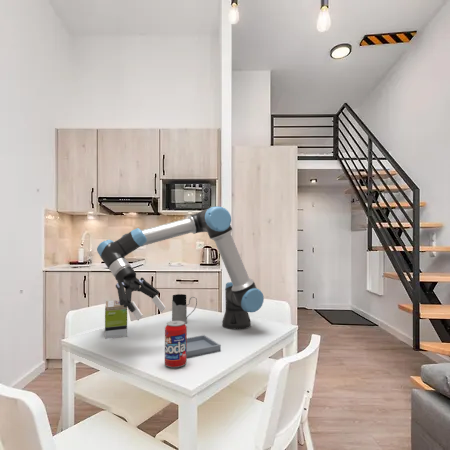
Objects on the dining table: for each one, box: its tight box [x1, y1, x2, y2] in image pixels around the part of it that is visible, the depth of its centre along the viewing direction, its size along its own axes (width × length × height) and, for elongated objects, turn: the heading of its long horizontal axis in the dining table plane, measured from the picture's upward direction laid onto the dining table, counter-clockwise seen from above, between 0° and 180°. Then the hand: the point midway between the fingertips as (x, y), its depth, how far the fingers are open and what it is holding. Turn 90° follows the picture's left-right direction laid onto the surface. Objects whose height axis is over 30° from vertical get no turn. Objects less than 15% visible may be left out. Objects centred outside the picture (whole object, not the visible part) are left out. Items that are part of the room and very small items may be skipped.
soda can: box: [164, 320, 188, 369], centre depth 108 cm, size 8×8×15 cm
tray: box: [187, 334, 222, 359], centre depth 124 cm, size 15×15×2 cm
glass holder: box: [171, 293, 198, 325], centre depth 164 cm, size 9×14×15 cm, turn 107°
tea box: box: [104, 299, 128, 339], centre depth 145 cm, size 15×10×15 cm, turn 21°
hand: (152, 313), depth 113 cm, fingers open, 13 cm apart
